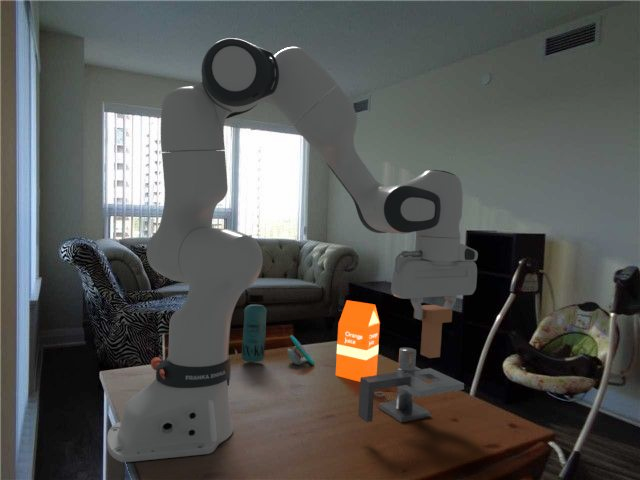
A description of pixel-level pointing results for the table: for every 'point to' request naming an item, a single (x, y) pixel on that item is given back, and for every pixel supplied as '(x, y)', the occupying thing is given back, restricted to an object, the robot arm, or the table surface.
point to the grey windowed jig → (404, 389)
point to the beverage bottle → (254, 330)
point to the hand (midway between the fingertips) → (432, 317)
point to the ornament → (298, 353)
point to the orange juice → (357, 341)
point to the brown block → (433, 329)
